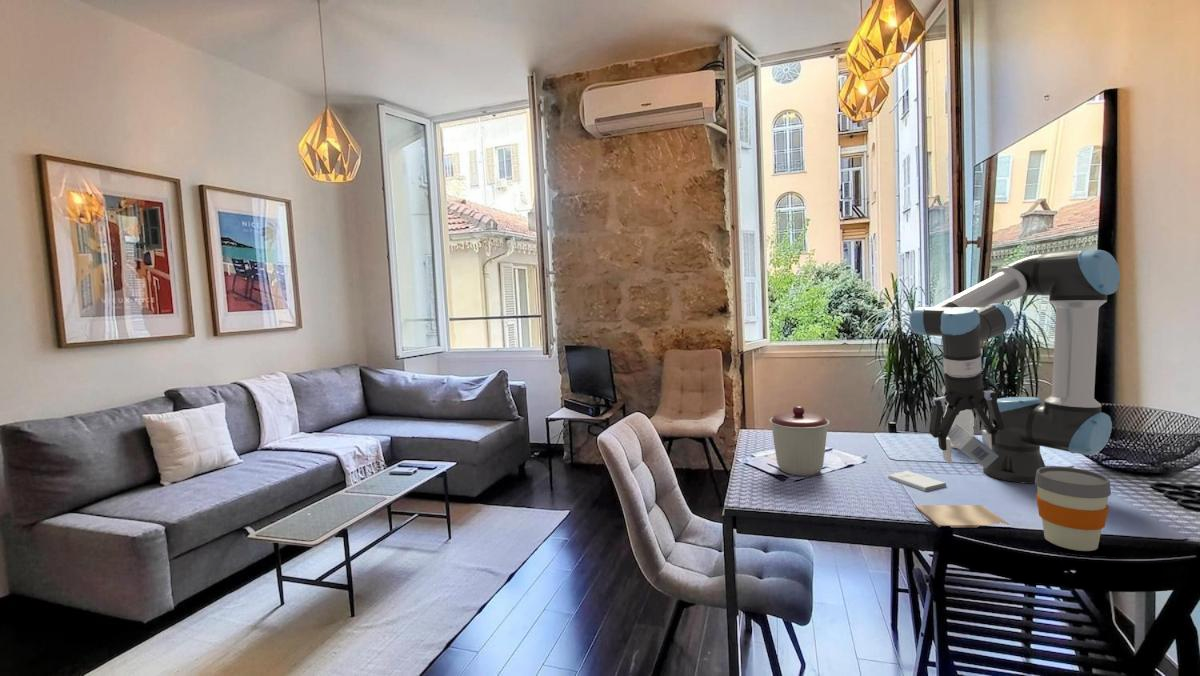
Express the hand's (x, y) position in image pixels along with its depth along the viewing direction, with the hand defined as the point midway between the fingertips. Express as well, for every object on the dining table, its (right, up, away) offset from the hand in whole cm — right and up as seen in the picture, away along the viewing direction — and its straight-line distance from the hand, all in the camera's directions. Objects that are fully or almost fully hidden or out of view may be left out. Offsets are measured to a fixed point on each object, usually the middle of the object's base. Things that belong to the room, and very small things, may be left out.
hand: (967, 458), depth 134 cm
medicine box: (-2, +3, -7) cm, 8 cm away
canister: (-27, -13, +40) cm, 50 cm away
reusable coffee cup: (+13, -15, -14) cm, 25 cm away
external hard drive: (+2, -13, +25) cm, 28 cm away
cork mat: (-1, -15, 0) cm, 15 cm away
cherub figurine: (+35, -9, +54) cm, 65 cm away
